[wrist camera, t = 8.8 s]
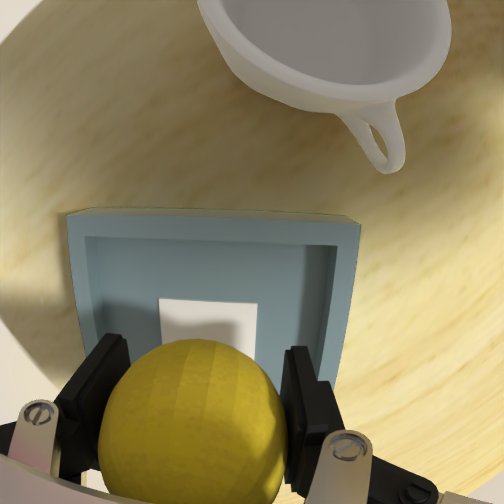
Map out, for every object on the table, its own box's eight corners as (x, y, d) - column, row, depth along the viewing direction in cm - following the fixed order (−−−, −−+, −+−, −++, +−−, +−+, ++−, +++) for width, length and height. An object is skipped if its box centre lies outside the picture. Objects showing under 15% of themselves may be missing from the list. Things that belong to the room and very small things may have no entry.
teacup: (188, 2, 11) (160, -67, 5) (342, -36, 10) (376, -100, 5) (274, 202, 13) (291, 225, 8) (430, 146, 12) (509, 143, 7)
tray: (91, 207, 13) (66, 215, 11) (344, 215, 13) (361, 224, 11) (118, 403, 16) (106, 428, 14) (313, 416, 16) (319, 444, 14)
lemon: (214, 271, 11) (153, 455, 4) (305, 370, 12) (346, 548, 5) (117, 349, 12) (26, 498, 4) (206, 428, 13) (184, 580, 6)
